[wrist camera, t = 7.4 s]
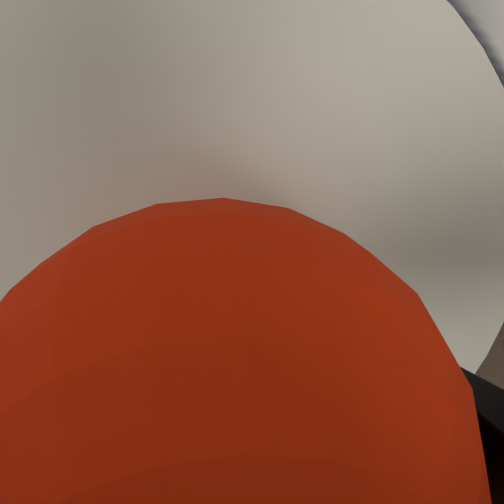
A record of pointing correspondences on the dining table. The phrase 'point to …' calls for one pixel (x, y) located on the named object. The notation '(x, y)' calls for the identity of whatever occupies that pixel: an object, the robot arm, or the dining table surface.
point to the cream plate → (263, 131)
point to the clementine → (228, 370)
